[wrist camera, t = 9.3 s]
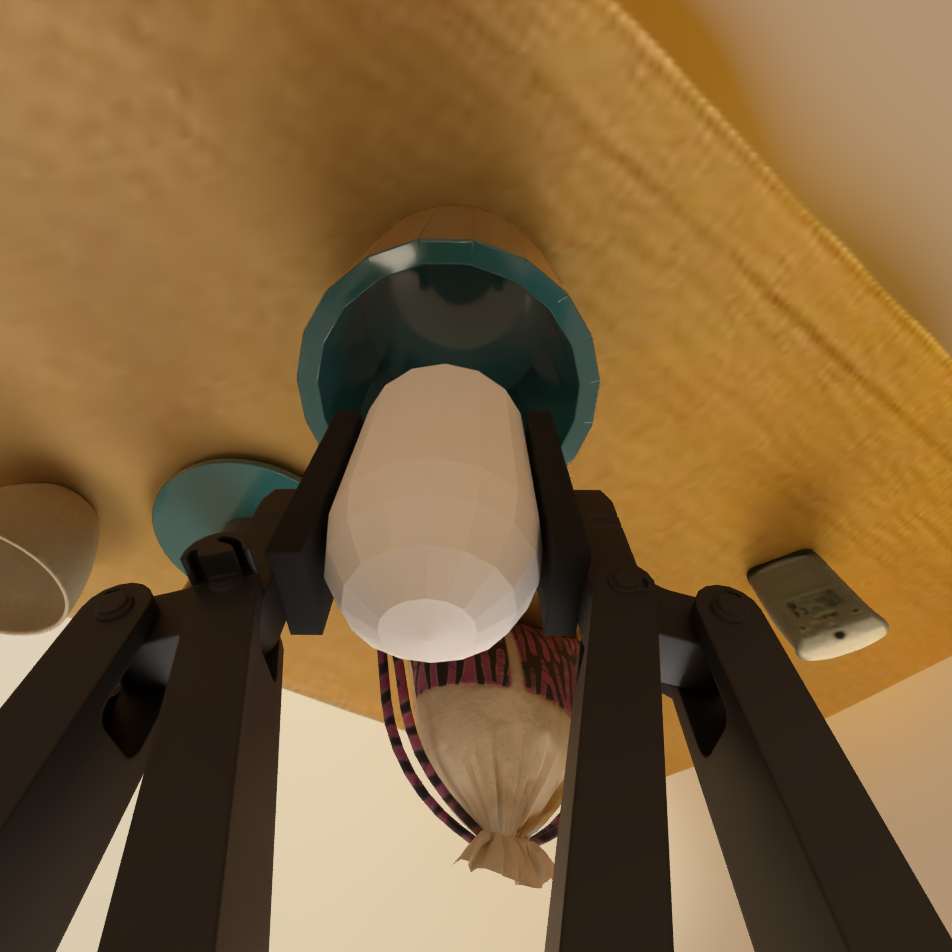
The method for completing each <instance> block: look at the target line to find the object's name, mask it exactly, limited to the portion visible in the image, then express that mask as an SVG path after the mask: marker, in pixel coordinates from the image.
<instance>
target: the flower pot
mask: <svg viewBox="0 0 952 952" xmlns="http://www.w3.org/2000/svg"><path fill="white" fill-rule="evenodd" d="M97 544H98V518H97V515H96V513H95V511H94V509H93V508H92V506H91V505H90V504H89V503H88V502H87V501H86V500H85V499H84V498H82V497H81V496H80V495H78V494H77V493H75V492H73V491H71V490H69V489H67V488H65V487H62V486H59V485H55V484H50V483H29V484H18V485H10V486H4V487H0V634H6V635H36V634H41V633H45V632H48V631H51V630H53V629H55V628H56V627H58V626H59V625H60V624H61V623H62V622H63V621H64V620H65V619H66V617H67V616H68V615H69V613H70V612H71V610H72V609H73V607H74V605H75V604H76V602H77V600H78V599H79V597H80V595H81V593H82V591H83V589H84V587H85V585H86V583H87V580H88V578H89V575H90V573H91V570H92V567H93V563H94V559H95V555H96V551H97Z"/></svg>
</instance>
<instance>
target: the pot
mask: <svg viewBox="0 0 952 952" xmlns="http://www.w3.org/2000/svg"><path fill="white" fill-rule="evenodd" d="M440 364H449V365H454V366H458V367H463V368H467V369H472V370H476V371H479V372H481V373H482V374H484V375H485V376H487V377H488V378H489V379H491V380H492V381H494V382H495V383H497V384H498V385H500V386H501V387H503V388H504V389H505V390H506V391H507V393H508V395H509V396H510V398H511V399H512V401H513V402H514V404H515V406H516V407H517V409H518V410H519V412H520V414H521V418H522V423H523V429H524V435H525V434H526V422H527V412H551V414H552V418H553V421H554V425H555V428H556V432H557V435H558V439H559V442H560V445H561V449H562V452H563V456H564V459H565V463H566V466H567V465H568V464H569V463H571V462H572V460H574V458H575V456H576V454H577V452H578V451H579V449H580V447H581V445H582V443H583V441H584V439H585V438H586V436H587V434H588V432H589V430H590V428H591V426H592V423H593V419H594V413H595V408H596V402H597V396H598V390H599V384H600V382H599V380H600V378H599V372H598V366H597V361H596V355H595V349H594V343H593V338H592V336H591V333H590V331H589V329H588V328H587V326H586V324H585V322H584V321H583V319H582V317H581V316H580V314H579V312H578V310H577V309H576V307H575V305H574V303H573V302H572V300H571V298H570V296H569V295H568V293H567V292H566V290H565V288H564V287H563V285H562V284H561V282H560V281H559V279H558V277H557V276H556V274H555V273H554V271H553V270H552V268H551V266H550V265H549V263H548V262H547V260H546V259H545V257H544V255H543V254H542V252H541V251H540V249H539V248H538V246H537V245H536V244H535V243H534V242H533V241H532V240H531V239H530V238H529V237H527V235H526V234H525V233H523V232H522V231H521V230H520V229H518V228H517V227H516V226H515V225H513V224H512V223H511V222H510V221H508V220H506V219H504V218H502V217H500V216H498V215H495V214H493V213H490V212H488V211H485V210H481V209H478V208H475V207H474V208H473V207H466V206H441V207H440V206H439V207H434V208H431V209H427V210H424V211H421V212H418V213H416V214H413V215H411V216H409V217H406V218H403V219H401V220H400V221H399V222H398V223H397V224H395V225H394V226H393V227H392V228H391V229H390V230H388V231H387V232H386V233H385V234H384V235H382V236H381V237H380V238H379V239H378V240H377V241H375V242H374V243H373V244H372V245H371V246H370V247H369V248H368V249H367V250H366V251H365V252H364V253H363V254H362V255H361V256H360V257H359V258H358V259H357V260H356V261H355V262H354V263H353V264H352V265H351V266H350V267H349V268H348V269H347V270H346V271H345V272H344V273H343V274H342V275H341V276H340V277H339V278H338V279H337V280H336V281H335V282H334V283H333V284H332V285H331V286H330V287H329V288H328V289H327V290H326V291H325V293H324V295H323V297H322V299H321V300H320V302H319V304H318V306H317V308H316V309H315V311H314V313H313V315H312V317H311V319H310V320H309V322H308V324H307V326H306V328H305V329H304V333H303V335H302V343H301V350H300V357H299V364H298V371H297V382H298V387H299V392H300V397H301V401H302V406H303V411H304V416H305V420H306V422H307V424H308V426H309V428H310V429H311V431H312V433H313V435H314V436H315V438H316V440H317V442H318V443H319V444H320V442H321V440H322V438H323V436H324V434H325V432H326V430H327V428H328V426H329V424H330V422H331V420H332V419H333V417H334V415H335V413H336V411H337V410H361V416H362V423H363V424H364V422H365V419H366V417H367V414H368V411H369V409H370V408H371V406H372V405H373V403H374V402H375V400H376V399H377V397H378V396H379V394H380V393H381V391H382V389H383V388H384V386H385V385H387V384H388V383H390V382H392V381H393V380H395V379H396V378H398V377H400V376H401V375H403V374H405V373H406V372H408V371H409V370H411V369H414V368H421V367H427V366H433V365H440Z"/></svg>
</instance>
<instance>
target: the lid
mask: <svg viewBox="0 0 952 952" xmlns="http://www.w3.org/2000/svg"><path fill="white" fill-rule="evenodd" d="M301 479H302V478H301V477H299V476H297V475H295V474H293V473H291V472H289V471H287V470H285V469H282V468H279V467H277V466H274V465H270V464H267V463H263V462H259V461H253V460H247V459H235V458H227V459H214V460H208V461H204V462H200V463H197V464H194V465H191V466H189V467H187V468H185V469H183V470H181V471H180V472H178V473H177V474H175V475H174V476H173V477H172V478H171V479H170V480H169V481H168V482H167V483H166V484H165V485H164V486H163V487H162V489H161V490H160V492H159V494H158V495H157V498H156V500H155V503H154V507H153V513H152V517H153V527H154V531H155V535H156V537H157V540H158V542H159V544H160V546H161V547H162V549H163V551H164V552H165V554H166V555H167V556H168V558H169V559H170V560H171V561H172V562H173V563H174V564H175V566H176V567H177V568H178V569H180V570H181V571H182V572H183V573H184V574H185V575H186V576H187V574H186V571H185V569H184V567H183V565H182V563H181V561H180V558H181V556H182V554H183V552H184V551H185V550H186V549H187V548H188V547H189V546H190V545H192V544H193V543H194V542H196V541H198V540H200V539H202V538H204V537H206V536H209V535H212V534H216V533H223V532H233V533H237V534H242V532H243V531H244V529H245V527H246V526H248V522H249V520H250V519H251V517H252V515H254V512H255V510H256V509H257V507H258V505H259V504H260V502H261V500H262V499H264V498H265V497H266V496H267V495H269V494H270V493H271V492H272V491H274V490H275V489H297V487H298V485H299V483H300V481H301ZM190 587H192V585H191V582H190V580H189V579H188V580H187V582H186V583H185V585H184V587H183V588H182V590H184V589H187V588H190Z"/></svg>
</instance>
